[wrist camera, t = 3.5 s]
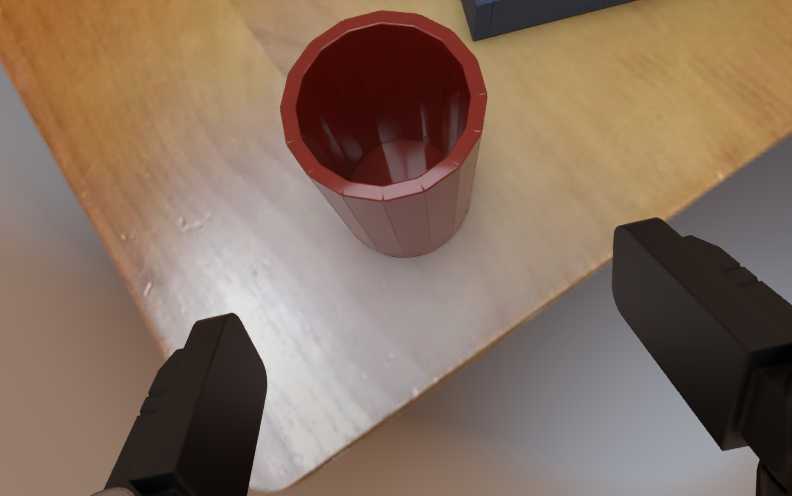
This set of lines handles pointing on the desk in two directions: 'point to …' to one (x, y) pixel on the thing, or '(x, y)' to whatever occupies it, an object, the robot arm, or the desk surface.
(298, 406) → the desk surface
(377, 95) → the red cup
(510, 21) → the blue tray
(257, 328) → the desk surface
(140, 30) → the desk surface
